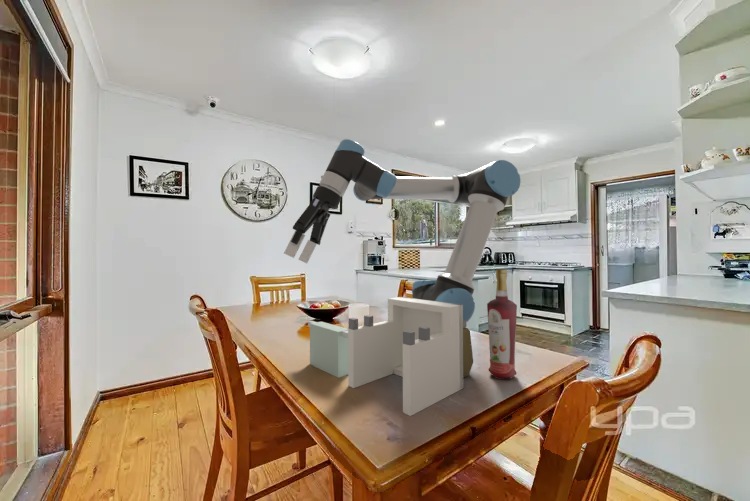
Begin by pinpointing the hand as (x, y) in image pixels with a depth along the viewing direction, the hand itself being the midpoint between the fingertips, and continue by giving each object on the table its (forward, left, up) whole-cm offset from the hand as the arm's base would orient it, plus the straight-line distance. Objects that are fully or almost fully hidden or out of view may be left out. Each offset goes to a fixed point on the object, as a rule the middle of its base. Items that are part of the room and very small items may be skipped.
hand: (296, 259), depth 88 cm
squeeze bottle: (-31, +31, -31) cm, 54 cm away
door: (-8, +4, -31) cm, 32 cm away
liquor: (-38, +40, -31) cm, 63 cm away
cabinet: (-14, +27, -31) cm, 44 cm away
